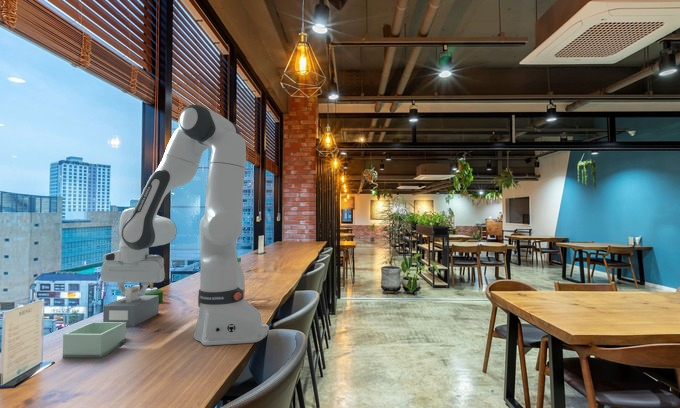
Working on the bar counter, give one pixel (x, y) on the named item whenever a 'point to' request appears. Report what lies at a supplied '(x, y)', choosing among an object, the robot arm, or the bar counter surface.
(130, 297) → the pale bar
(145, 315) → the block
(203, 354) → the bar counter surface
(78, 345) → the stub box
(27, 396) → the bar counter surface
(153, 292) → the candle
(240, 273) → the milk bottle
